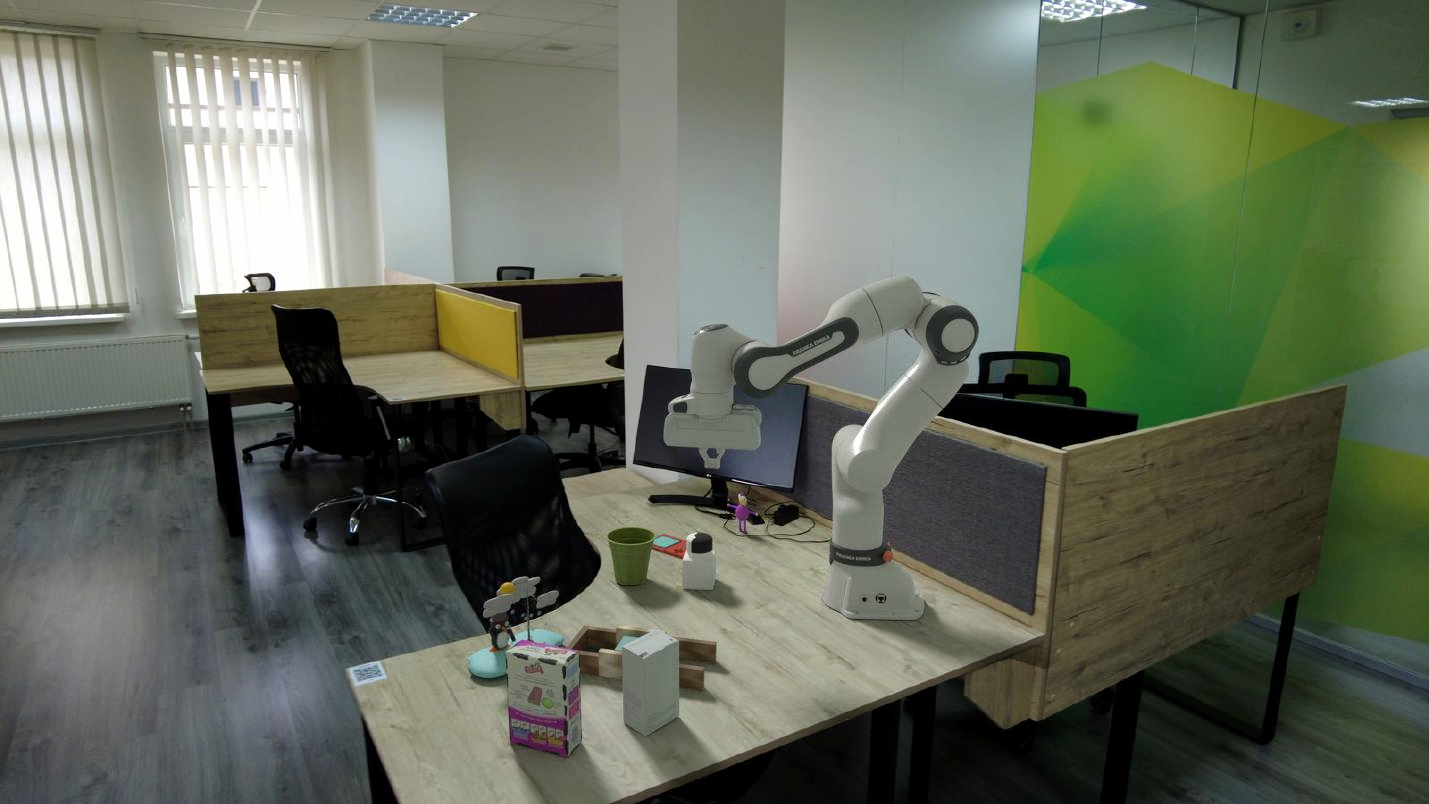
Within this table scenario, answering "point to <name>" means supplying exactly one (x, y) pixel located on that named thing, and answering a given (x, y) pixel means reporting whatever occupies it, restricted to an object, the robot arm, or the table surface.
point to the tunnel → (607, 662)
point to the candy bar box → (544, 697)
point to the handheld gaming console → (670, 545)
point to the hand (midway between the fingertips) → (712, 467)
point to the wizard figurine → (743, 510)
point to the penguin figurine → (495, 657)
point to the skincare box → (650, 681)
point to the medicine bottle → (699, 563)
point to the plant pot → (631, 553)
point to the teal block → (625, 642)
